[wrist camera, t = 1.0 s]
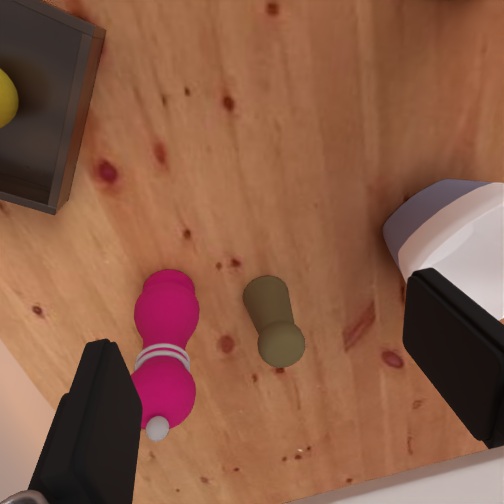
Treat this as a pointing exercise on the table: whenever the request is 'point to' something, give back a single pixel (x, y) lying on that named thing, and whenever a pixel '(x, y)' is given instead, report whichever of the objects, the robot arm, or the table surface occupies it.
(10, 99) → the lemon
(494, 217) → the bowl
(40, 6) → the dark wooden tray
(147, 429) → the pepper mill
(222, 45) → the table surface
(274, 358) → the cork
